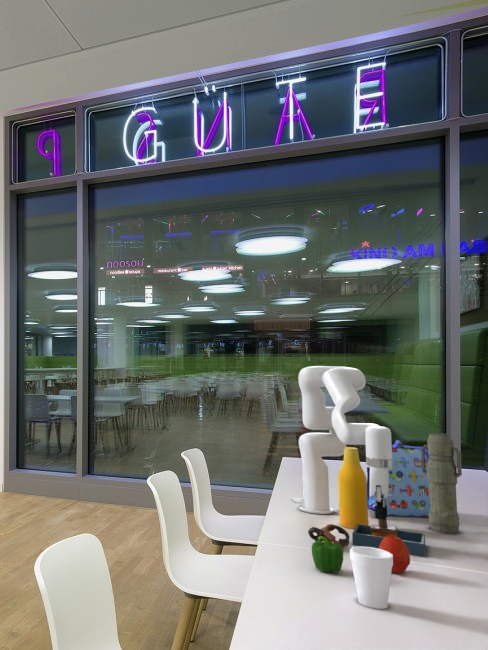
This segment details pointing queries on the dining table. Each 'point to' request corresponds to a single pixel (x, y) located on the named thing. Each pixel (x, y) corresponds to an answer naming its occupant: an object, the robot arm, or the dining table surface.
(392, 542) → the apple
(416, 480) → the lunch bag
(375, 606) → the foam cup
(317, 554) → the bell pepper
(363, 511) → the beer bottle
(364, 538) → the tray
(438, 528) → the thermos
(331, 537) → the brown twisted loop
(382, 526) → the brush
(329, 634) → the dining table surface
